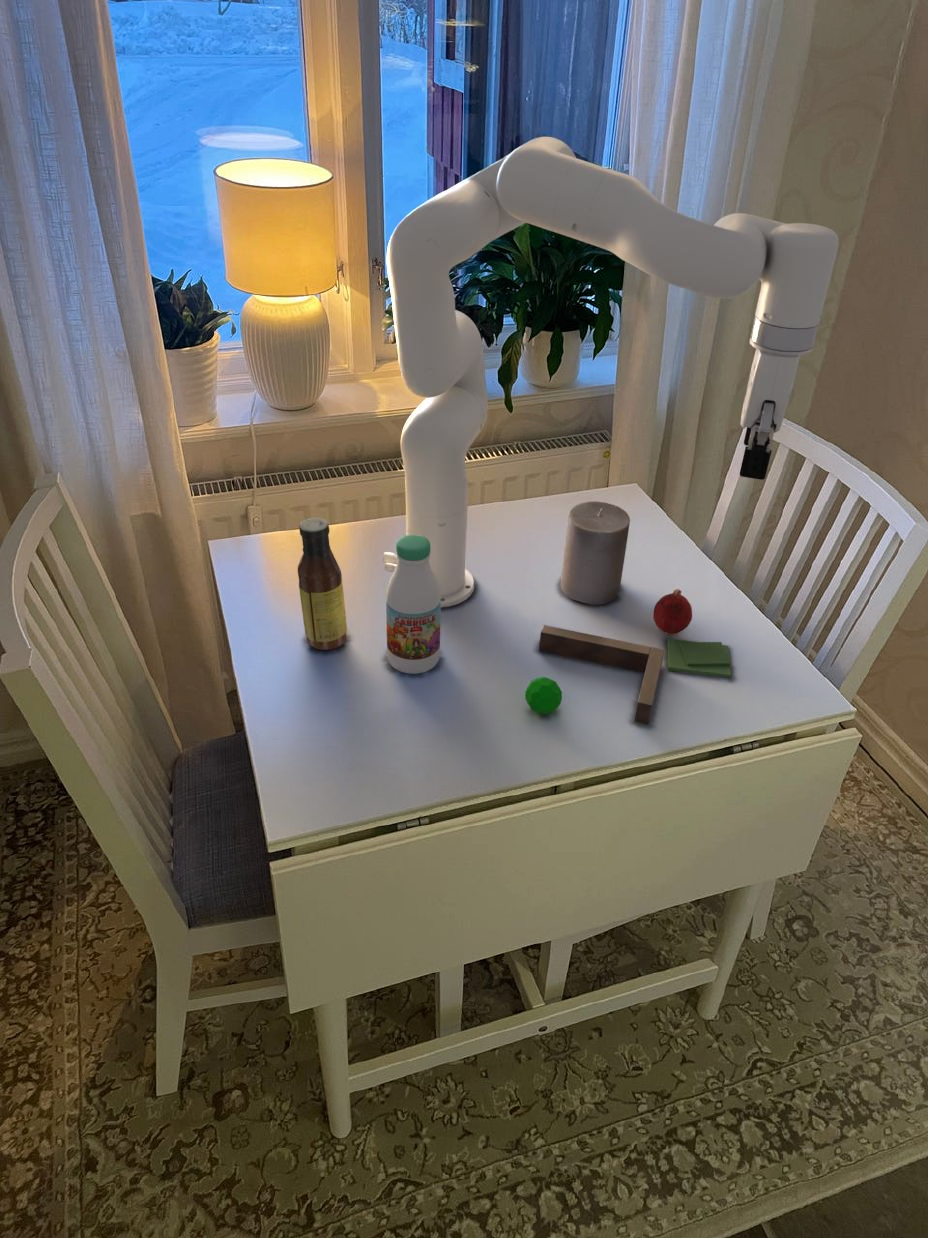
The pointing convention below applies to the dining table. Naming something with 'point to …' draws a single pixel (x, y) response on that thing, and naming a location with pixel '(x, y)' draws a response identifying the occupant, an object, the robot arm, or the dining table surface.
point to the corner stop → (610, 659)
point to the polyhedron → (543, 695)
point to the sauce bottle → (321, 588)
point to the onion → (672, 613)
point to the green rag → (699, 658)
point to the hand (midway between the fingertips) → (753, 461)
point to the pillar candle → (594, 552)
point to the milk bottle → (413, 609)
